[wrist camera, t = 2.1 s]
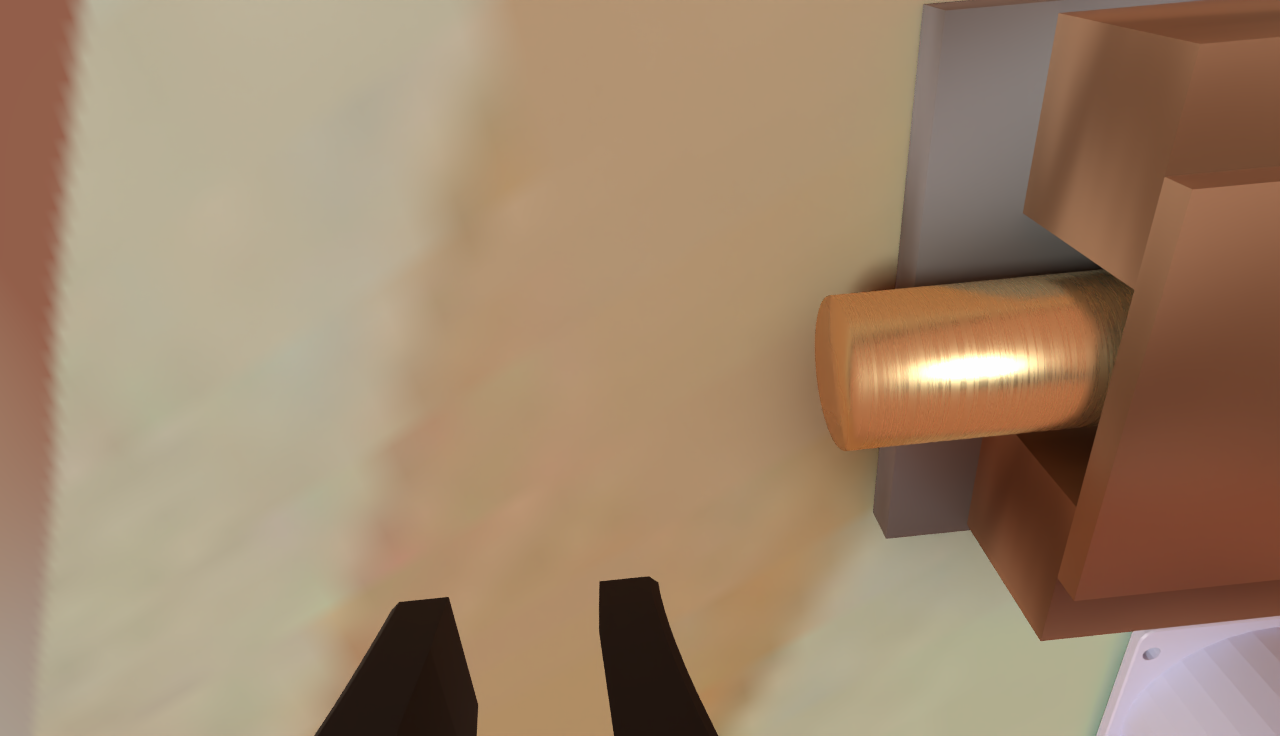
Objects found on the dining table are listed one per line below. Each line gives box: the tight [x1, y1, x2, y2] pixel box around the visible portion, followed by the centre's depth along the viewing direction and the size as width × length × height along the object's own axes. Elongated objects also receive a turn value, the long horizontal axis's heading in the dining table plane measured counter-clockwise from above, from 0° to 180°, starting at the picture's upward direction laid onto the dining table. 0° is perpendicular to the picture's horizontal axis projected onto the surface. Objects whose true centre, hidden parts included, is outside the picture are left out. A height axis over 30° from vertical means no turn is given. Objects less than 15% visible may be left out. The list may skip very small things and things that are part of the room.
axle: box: [815, 269, 1134, 451], centre depth 15 cm, size 3×14×3 cm, turn 94°
